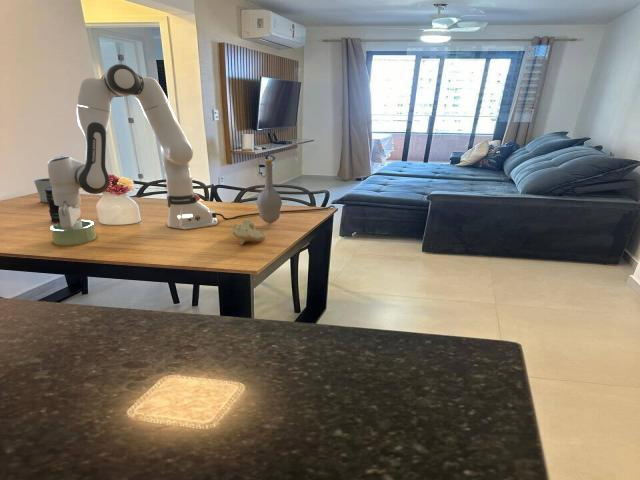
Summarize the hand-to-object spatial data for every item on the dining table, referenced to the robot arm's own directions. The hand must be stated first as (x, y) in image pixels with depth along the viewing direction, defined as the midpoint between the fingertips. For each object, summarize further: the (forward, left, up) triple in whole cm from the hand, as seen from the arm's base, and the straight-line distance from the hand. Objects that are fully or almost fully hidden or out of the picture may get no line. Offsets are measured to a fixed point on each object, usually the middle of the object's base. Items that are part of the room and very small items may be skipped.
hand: (73, 233), depth 152 cm
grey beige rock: (-64, +28, -3) cm, 70 cm away
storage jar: (+10, -34, -3) cm, 36 cm away
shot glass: (0, 0, -2) cm, 2 cm away
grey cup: (+25, -80, -3) cm, 84 cm away
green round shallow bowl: (0, 0, -3) cm, 3 cm away
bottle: (-80, +3, -3) cm, 80 cm away
